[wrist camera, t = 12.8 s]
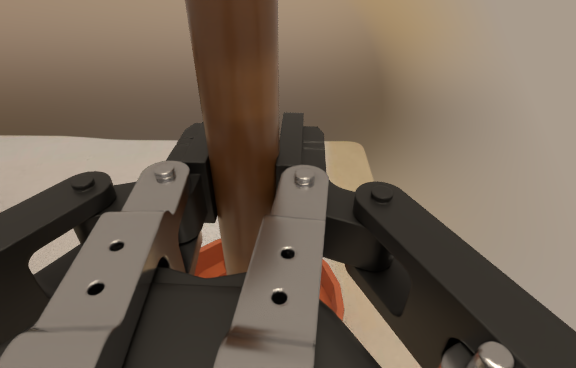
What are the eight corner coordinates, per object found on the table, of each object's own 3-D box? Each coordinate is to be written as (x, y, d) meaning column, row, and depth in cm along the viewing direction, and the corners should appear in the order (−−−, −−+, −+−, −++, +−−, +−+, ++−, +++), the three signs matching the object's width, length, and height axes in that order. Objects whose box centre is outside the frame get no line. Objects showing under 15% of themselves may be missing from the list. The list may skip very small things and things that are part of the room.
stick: (291, 369, 19) (299, -89, 8) (292, 409, 18) (306, -92, 6) (236, 371, 19) (159, -89, 8) (233, 411, 18) (128, -94, 6)
